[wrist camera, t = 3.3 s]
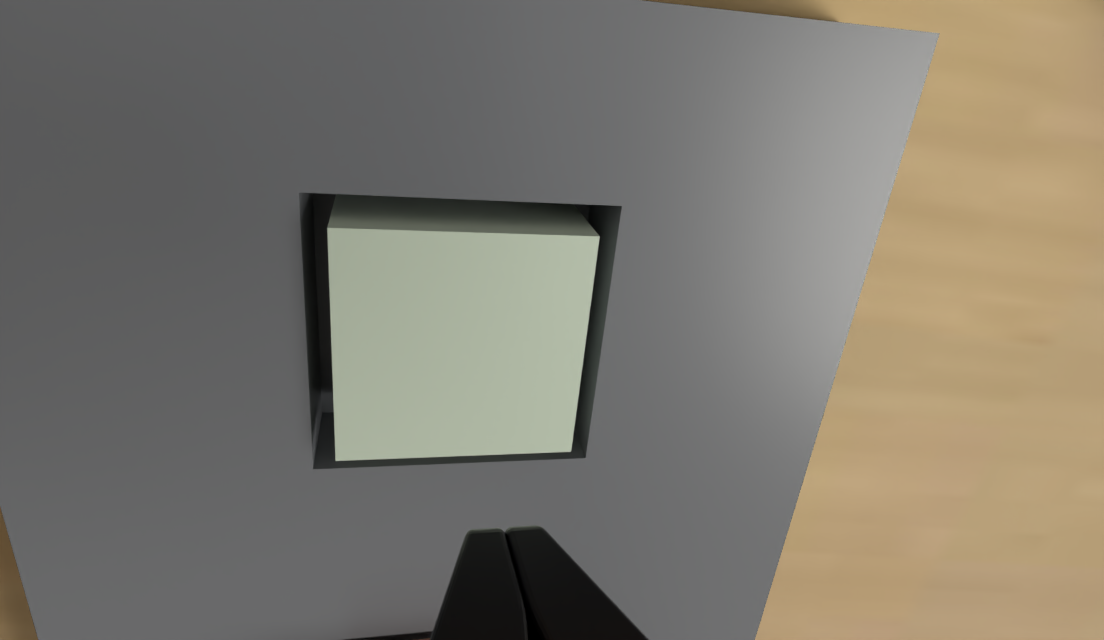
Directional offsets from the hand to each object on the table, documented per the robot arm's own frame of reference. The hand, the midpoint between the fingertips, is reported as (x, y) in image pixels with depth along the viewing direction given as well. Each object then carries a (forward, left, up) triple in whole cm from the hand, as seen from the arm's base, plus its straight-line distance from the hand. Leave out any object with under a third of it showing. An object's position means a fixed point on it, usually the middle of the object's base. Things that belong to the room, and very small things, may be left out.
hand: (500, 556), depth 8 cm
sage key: (0, 0, -7) cm, 7 cm away
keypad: (-10, 0, -9) cm, 13 cm away
